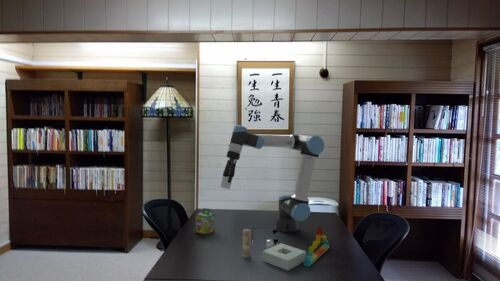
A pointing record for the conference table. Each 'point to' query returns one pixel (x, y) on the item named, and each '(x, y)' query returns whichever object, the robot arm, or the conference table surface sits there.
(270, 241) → the short metal pin
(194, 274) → the conference table surface
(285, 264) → the hole block
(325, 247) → the chart
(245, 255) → the tall beech pin
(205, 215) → the chalk box
